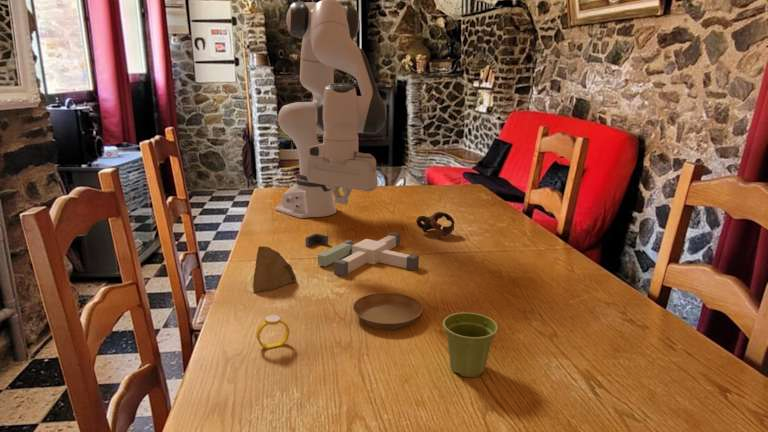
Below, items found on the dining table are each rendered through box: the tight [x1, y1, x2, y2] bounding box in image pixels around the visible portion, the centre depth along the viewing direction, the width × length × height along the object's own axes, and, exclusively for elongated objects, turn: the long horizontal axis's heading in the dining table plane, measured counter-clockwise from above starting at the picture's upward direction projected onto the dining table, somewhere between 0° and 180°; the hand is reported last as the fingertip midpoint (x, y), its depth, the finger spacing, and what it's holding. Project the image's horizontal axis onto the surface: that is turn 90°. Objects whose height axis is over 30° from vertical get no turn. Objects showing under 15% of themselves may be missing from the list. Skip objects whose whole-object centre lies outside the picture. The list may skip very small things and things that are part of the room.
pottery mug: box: [415, 211, 455, 240], centre depth 164 cm, size 12×10×8 cm
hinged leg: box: [317, 239, 354, 267], centre depth 142 cm, size 14×2×3 cm, turn 149°
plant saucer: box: [352, 292, 423, 330], centre depth 110 cm, size 15×15×3 cm
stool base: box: [333, 231, 420, 277], centre depth 141 cm, size 20×29×4 cm
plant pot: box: [442, 311, 499, 378], centre depth 91 cm, size 9×9×9 cm
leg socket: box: [305, 233, 329, 248], centre depth 153 cm, size 5×5×3 cm
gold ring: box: [255, 314, 291, 350], centre depth 98 cm, size 6×3×6 cm, turn 115°
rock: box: [252, 245, 298, 294], centre depth 124 cm, size 11×9×10 cm
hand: (341, 203), depth 134 cm, fingers closed
